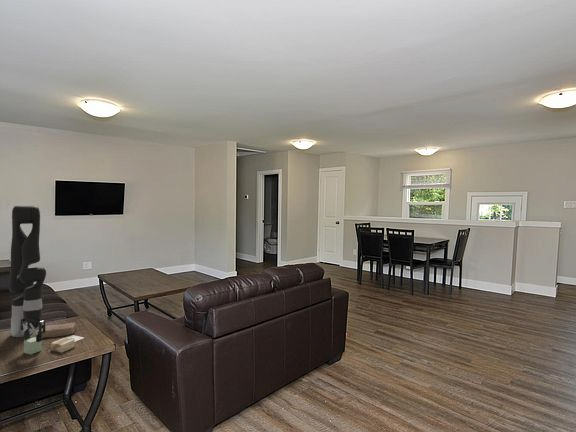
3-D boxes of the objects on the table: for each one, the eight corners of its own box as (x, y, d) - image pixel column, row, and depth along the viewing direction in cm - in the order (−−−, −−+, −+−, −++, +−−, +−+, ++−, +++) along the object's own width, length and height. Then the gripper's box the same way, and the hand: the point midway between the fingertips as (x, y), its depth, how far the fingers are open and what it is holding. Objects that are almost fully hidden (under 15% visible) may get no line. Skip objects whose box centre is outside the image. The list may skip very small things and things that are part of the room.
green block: (23, 352, 164) (23, 340, 164) (34, 348, 169) (34, 337, 168) (31, 354, 162) (31, 342, 162) (41, 350, 167) (41, 338, 167)
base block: (51, 350, 167) (51, 342, 167) (63, 345, 174) (63, 337, 174) (61, 352, 166) (62, 345, 165) (74, 347, 172) (74, 339, 172)
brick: (37, 339, 180) (37, 330, 180) (41, 333, 188) (41, 325, 188) (73, 335, 187) (73, 327, 187) (76, 329, 195) (76, 322, 195)
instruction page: (56, 341, 177) (56, 340, 177) (72, 335, 186) (72, 334, 186) (69, 344, 175) (69, 343, 175) (84, 338, 183) (84, 337, 183)
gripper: (14, 308, 163) (14, 341, 164) (35, 311, 159) (35, 345, 159) (30, 304, 170) (30, 335, 171) (50, 307, 166) (50, 339, 166)
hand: (32, 340), depth 165 cm, fingers open, 8 cm apart
